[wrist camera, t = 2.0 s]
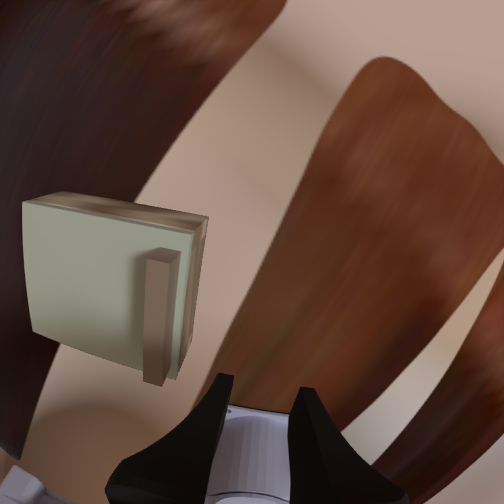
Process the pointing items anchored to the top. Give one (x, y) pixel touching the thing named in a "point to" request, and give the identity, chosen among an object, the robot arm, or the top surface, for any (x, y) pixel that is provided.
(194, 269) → the pine box
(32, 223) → the lid
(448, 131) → the top surface
